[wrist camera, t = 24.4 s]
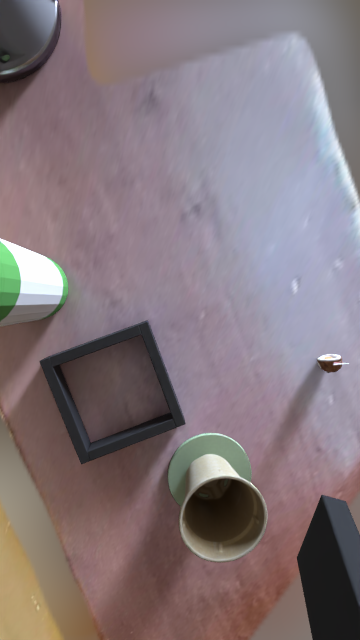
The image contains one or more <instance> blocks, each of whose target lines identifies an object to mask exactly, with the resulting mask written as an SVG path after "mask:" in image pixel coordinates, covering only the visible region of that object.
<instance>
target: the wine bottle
mask: <svg viewBox="0 0 360 640" xmlns="http://www.w3.org/2000/svg"><path fill="white" fill-rule="evenodd" d="M67 294H68V283H67V278H66V276H65V274H64V272H63V270H62V269H61V268H60V267H59V266H58V264H56V263H55V262H54V261H52V260H51V259H49V258H47V257H45V256H42V255H40V254H37V253H35V252H32V251H30V250H27V249H25V248H22V247H20V246H17V245H15V244H12V243H10V242H7V241H5V240H2V239H0V327H1V326H7V325H13V324H18V323H24V322H30V321H36V320H41V319H45V318H47V317H50V316H52V315H54V314H55V313H56V312H57V311H59V310H60V308H61V307H62V306H63V304H64V303H65V300H66V298H67Z"/></svg>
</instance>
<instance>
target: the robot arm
mask: <svg viewBox="0 0 360 640" xmlns="http://www.w3.org/2000/svg"><path fill="white" fill-rule="evenodd" d="M60 28H61V12H60V5H59V1H58V0H0V83H6V82H12V81H16V80H19V79H22V78H25V77H27V76H29V75H30V74H32V73H34V72H35V71H36V70H38V69H39V68H40V67H41V66H42V65H43V64H44V63H45V62H46V61H47V60H48V58H49V57H50V56H51V54H52V52H53V51H54V49H55V46H56V44H57V41H58V38H59V34H60ZM297 561H298V566H299V571H300V576H301V581H302V587H303V592H304V597H305V602H306V607H307V612H308V618H309V623H310V628H311V633H312V638H313V640H360V535H359V532H358V530H357V527H356V525H355V522H354V520H353V518H352V515H351V513H350V510H349V508H348V506H347V503H346V501H342V500H339V499H335V498H332V497H328V496H324V495H321V498H320V500H319V503H318V505H317V508H316V511H315V513H314V516H313V518H312V521H311V523H310V526H309V528H308V531H307V533H306V536H305V538H304V541H303V544H302V546H301V549H300V551H299V554H298V556H297Z"/></svg>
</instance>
